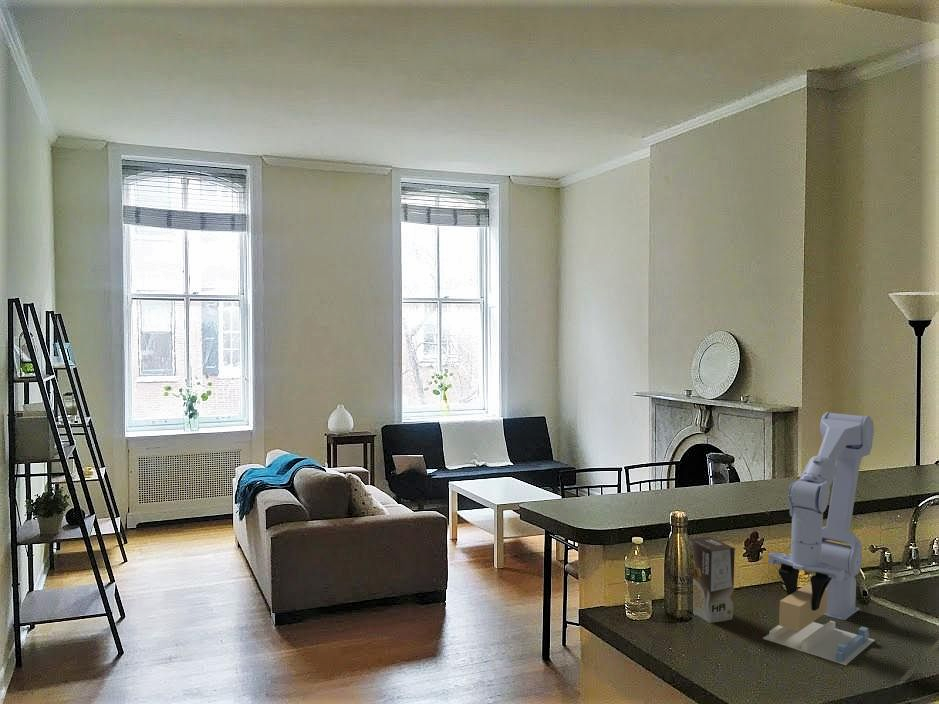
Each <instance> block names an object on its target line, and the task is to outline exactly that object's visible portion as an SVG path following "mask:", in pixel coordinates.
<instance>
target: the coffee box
mask: <svg viewBox="0 0 939 704" xmlns="http://www.w3.org/2000/svg"><path fill="white" fill-rule="evenodd" d="M688 539H689V542H690V545H691V549H692V555H693V570H694V576H693V614H694V615H693V614H692V615H693V616H697V617H700V618H701V619H703V620H705V621H706V622H707V623H709V624H711V623H718V622H725V621H730V620H733V617H734V616H733V615H734V614H733V613H734V591H735V589H734V588H735V587H734V585H735V583H734V581H735V557H736V556H735V553H736V548H735V547H733V546H731V545H728V544H727V543H724V542H721V540H717V539H715V538H713V537H711V536H702V537H701V536H700V537H694V538H688Z"/></svg>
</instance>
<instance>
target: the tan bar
mask: <svg viewBox="0 0 939 704" xmlns="http://www.w3.org/2000/svg"><path fill="white" fill-rule="evenodd" d="M827 593H828V589H827V588H826V589H825V591H824V593H823V596H822V599H821V602H820V606H819V609H817V610H816V611H814V610H812V586H811V583H806V584H805V585H803V586H801V587H800V588H797V591H795V592H794V593H792V594H790V595H789V596H788V595H787V596H785V597H784V598H782V599H780V600H779V609H778V610H779V611H778V612H779V613H778V616H779V617H778V625H780V626H783V627H786V628H789V629H793V630H796V631H800V630H802V629H803V628H805V627H806V626H807V625H809V624H810V623H812V622H815V621H816V620H818V619H819V618H820V617H822V616H824V614H825V613H826V612H827Z"/></svg>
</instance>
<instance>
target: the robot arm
mask: <svg viewBox="0 0 939 704" xmlns="http://www.w3.org/2000/svg"><path fill="white" fill-rule="evenodd" d="M874 426H875V424H874V421H873V419H872V417H871V416H869V415H857V414H856V415H854V414H845V413H833V412H831V411H826V412H825V413H823V415H822V417H821V419H820V423H819V432H820V436H821V440H822V441H821V445H820V447H819V450H818V453H817V455H814V456H812V457H811V458H809V460H808V462H807V463H806V465H805V468H804V469H803V471H802V473H801V475H800V477H799V479H798V480H795V481H793V482H792V483H790V485H789V488H788V492H787V493H788V494H787V503H788V507H789V516H790V517H791V535H790V539H791V540H790V554H785V553H779V552H770V553H768V564H770V565H771V564H772V565H775V564H776V565H780V568H779V569H778V574H779V576H780V578H781V580H782V582H783V585H784V588H785V590H786V594H787V596H789V595H790V594H792V593H794V592H795V591H797V590H798V582H799V581H798V580H799V575H800V571H803V572H808V573H811V574H815V575H813V576H811V577H810V579H809V580H810V584H811V586H812V610H814V611H816V610H817V609H819V606H820V602H821V599H822V596H823V593H824V591H825V589H826V588H827V589H828V593H827V612H826V613H825V614H823V616H828V617H831V618H835V619H839V620H844V621H846V620H847V619H848V618H849V617H851V616H853V614H855V613H856V612H858V611H861V610H860V607H857V606H856V601H857V600H856V597H857V596H856V594H857V580H856V577H855V576H856V575H858V574H859V572H860V571H861V568H862V562H863V554H862V551H863V550H862V549H863V544H862V541H861V540H860V538H858V537H857V535H855V534H854V533H853V532H852V531H851V527H852V526H851V525H852V518H853V514H854V513H853V512H854V505H855V500H856V499H855V498H856V494H857V493H856V492H857V486H858V481H859V480H858V479H859V471H860V467H861V463H862V460H863V457H866V456H867V457H868V456H869V455H870V454H871V450H872V448H873V442H874V434H875V427H874ZM831 486H832V488H831V491H830V487H831ZM830 493H831V495H830ZM829 497H830V499H829ZM829 500H830V502H829ZM828 503H829V506H828ZM827 507H829V508H828V513H827V514H828V515H827V520H826V526H823V522H824V520H823V519H824V512H825V511H826V509H827ZM831 541H832V542H831ZM837 542H838V543H837ZM842 543H843V544H842ZM847 544H848V545H847Z"/></svg>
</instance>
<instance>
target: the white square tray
mask: <svg viewBox="0 0 939 704" xmlns="http://www.w3.org/2000/svg"><path fill="white" fill-rule="evenodd" d="M869 633H870V632H869V627H865V626H861V627H860V626H859V628H858V631H857V634H856V633H853V632H850V631H845V630H842V629H839V628H837V627H836V621H833V620H829V621H828V622H826V623H825V624H821V623H819V622H815V621H813V622H812V623H810V624H809V625H807V626H806V627H805V628H803V629H802V630H800V631H796V630H793V629H789V628H786V627H783V626H780V625H779V624H778V625H776V626H775V627H774V628H772V629H770V630H769V634H767V635H765V636H764V637H762V639H763V640H766V641H770V642H772V643H775V644H778V645H782V646H785V647H788V648H791V649H795V650H797V651H800V652H803V653H807V654H809V655H813V656H816V657H818V658H822V659H825V660H828V661H831V662H835V663H837V664H841V665H844V666H847V665H848V664H849V663H850V662H851V661H852V660H854V659H855V658H856V657H857V656H858V655H859V654H860V653H862V652H863V651H864V650H865V649H867V648H868V647H869V646H870V645H871V644H872V643H873V642H875V641H876V640H875V639H873V638H870V637H869V635H870V634H869Z"/></svg>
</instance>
